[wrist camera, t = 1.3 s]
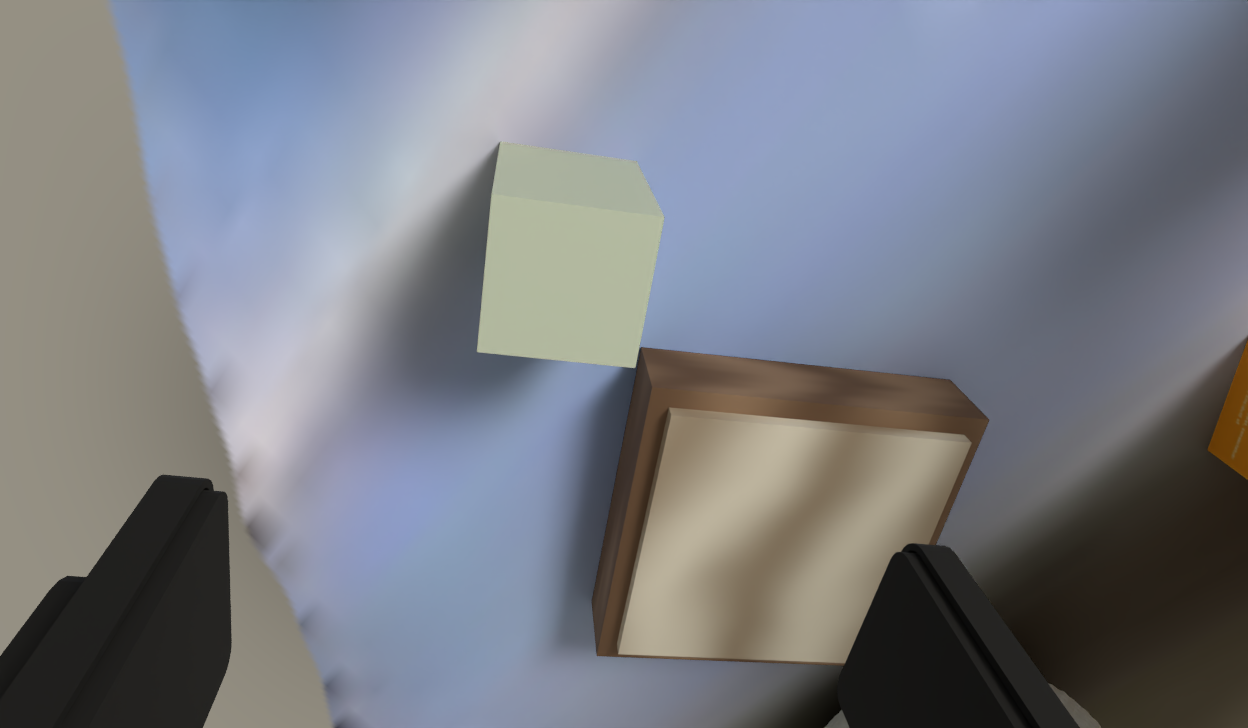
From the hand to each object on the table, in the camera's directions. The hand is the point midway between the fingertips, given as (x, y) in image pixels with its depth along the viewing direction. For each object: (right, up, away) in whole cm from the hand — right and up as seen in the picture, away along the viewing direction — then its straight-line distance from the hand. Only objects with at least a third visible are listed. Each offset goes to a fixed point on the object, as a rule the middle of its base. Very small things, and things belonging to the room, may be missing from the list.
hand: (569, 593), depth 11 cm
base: (+7, -3, +26) cm, 27 cm away
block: (-2, +9, +19) cm, 21 cm away
